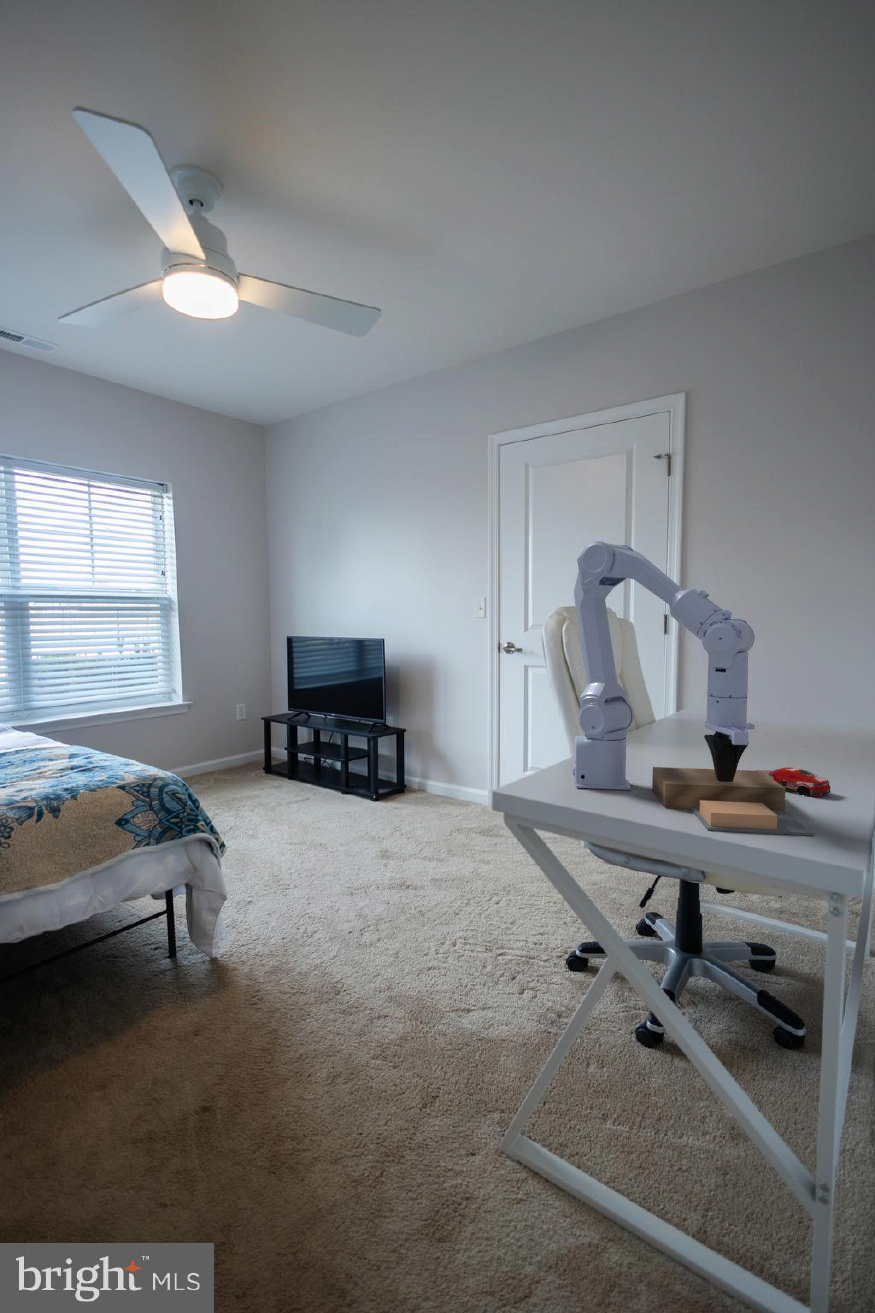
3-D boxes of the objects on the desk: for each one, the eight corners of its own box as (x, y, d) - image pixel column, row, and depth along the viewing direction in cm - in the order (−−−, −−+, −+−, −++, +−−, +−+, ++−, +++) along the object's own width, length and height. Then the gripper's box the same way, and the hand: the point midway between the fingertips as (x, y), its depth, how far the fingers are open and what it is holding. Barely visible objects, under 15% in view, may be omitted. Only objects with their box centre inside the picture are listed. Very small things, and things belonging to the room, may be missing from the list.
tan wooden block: (699, 800, 94) (699, 813, 95) (710, 812, 89) (710, 826, 89) (762, 803, 93) (761, 815, 93) (777, 815, 87) (776, 829, 87)
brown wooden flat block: (664, 807, 99) (665, 783, 98) (652, 789, 109) (652, 767, 109) (784, 813, 96) (785, 788, 95) (759, 793, 106) (760, 770, 106)
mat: (707, 830, 88) (707, 827, 88) (690, 809, 98) (690, 806, 98) (813, 835, 86) (813, 833, 86) (784, 813, 96) (784, 810, 96)
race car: (742, 785, 113) (742, 763, 113) (755, 780, 116) (756, 759, 116) (821, 801, 103) (822, 778, 102) (833, 795, 106) (834, 773, 106)
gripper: (771, 702, 88) (768, 795, 89) (739, 690, 102) (736, 770, 103) (719, 701, 89) (717, 792, 90) (694, 690, 104) (693, 768, 104)
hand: (724, 780), depth 97 cm, fingers closed
